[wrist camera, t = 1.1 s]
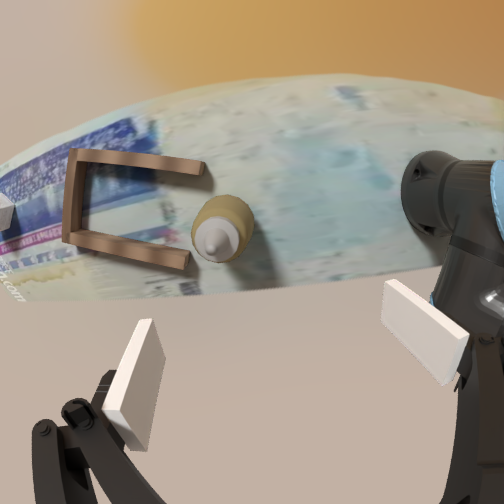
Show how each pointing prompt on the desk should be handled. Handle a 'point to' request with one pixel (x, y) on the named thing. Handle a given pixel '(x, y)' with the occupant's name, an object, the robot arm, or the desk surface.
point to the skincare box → (5, 212)
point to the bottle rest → (110, 242)
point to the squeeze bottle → (222, 228)
